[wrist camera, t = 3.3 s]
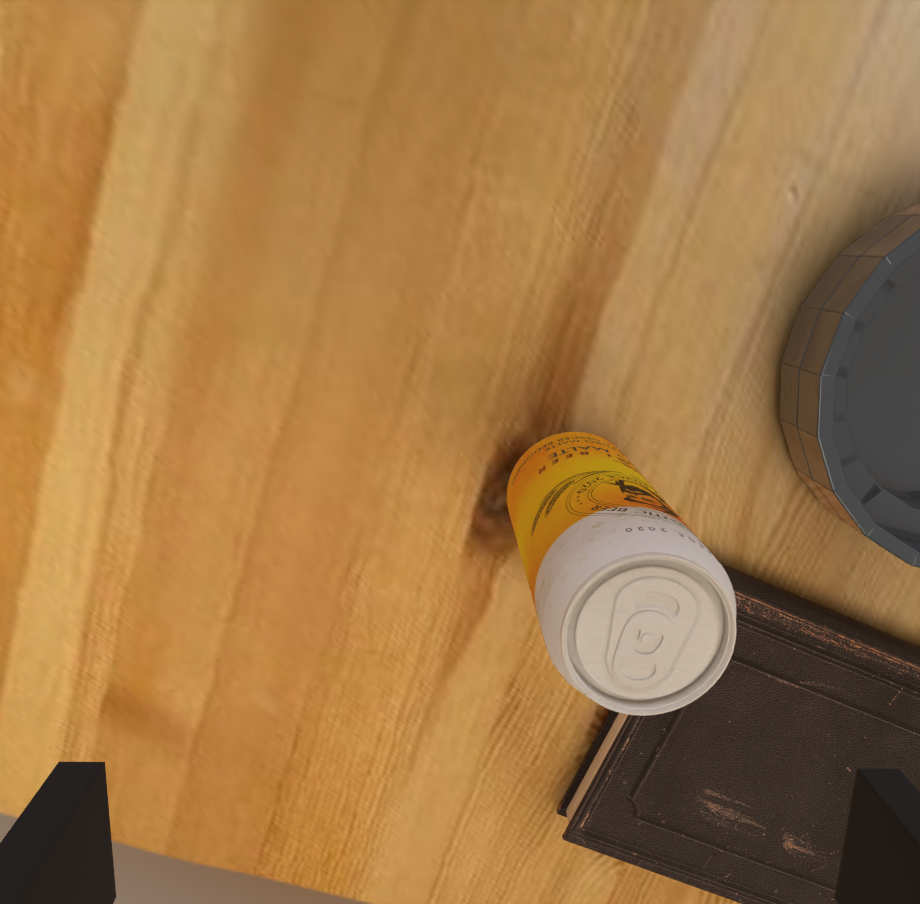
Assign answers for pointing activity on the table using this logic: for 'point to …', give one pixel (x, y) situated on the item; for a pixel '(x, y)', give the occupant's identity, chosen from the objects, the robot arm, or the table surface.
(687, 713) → the hardcover book
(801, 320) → the bowl
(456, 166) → the table surface
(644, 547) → the beer can
